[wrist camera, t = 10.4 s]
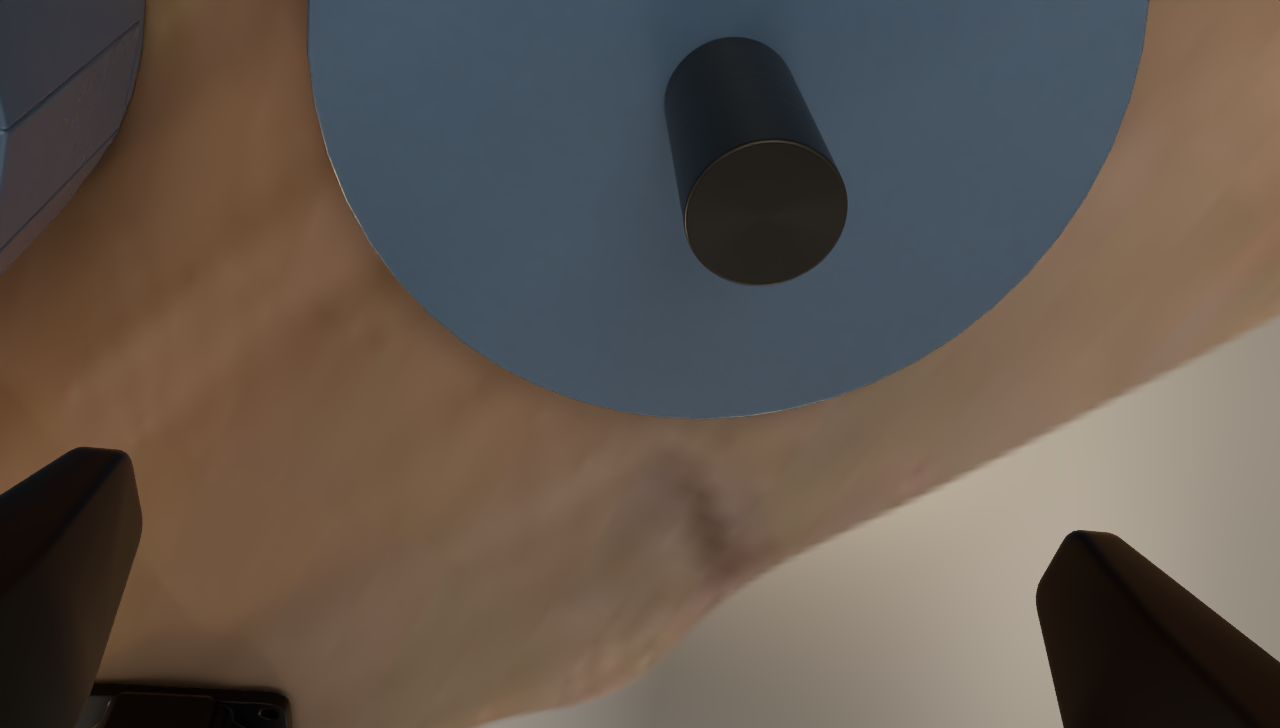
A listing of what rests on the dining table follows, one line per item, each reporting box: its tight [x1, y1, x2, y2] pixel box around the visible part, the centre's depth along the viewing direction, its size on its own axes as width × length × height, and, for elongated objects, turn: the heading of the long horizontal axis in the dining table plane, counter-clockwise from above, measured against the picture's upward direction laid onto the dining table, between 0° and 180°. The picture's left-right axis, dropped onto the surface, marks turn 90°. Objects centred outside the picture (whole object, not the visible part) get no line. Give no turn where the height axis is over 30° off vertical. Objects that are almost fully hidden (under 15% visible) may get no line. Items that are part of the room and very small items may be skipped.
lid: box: [307, 0, 1149, 419], centre depth 16 cm, size 15×15×6 cm
